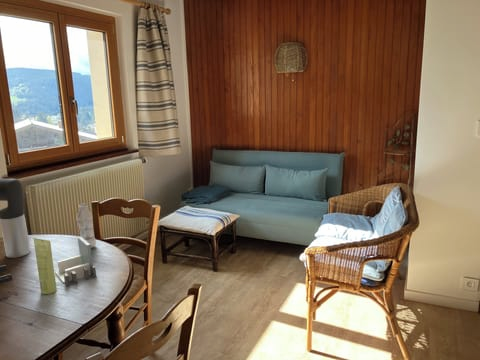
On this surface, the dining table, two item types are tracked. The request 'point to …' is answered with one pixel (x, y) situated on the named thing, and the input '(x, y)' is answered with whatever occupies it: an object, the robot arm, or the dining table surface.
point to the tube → (45, 266)
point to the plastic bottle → (86, 224)
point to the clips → (74, 278)
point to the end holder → (76, 262)
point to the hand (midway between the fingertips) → (9, 272)
